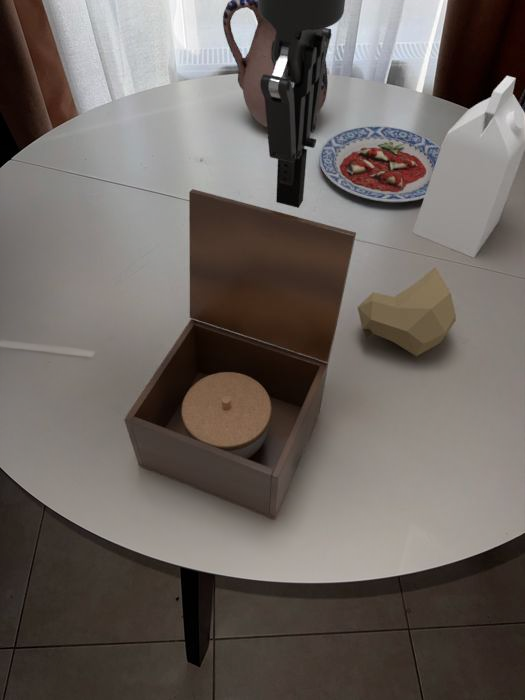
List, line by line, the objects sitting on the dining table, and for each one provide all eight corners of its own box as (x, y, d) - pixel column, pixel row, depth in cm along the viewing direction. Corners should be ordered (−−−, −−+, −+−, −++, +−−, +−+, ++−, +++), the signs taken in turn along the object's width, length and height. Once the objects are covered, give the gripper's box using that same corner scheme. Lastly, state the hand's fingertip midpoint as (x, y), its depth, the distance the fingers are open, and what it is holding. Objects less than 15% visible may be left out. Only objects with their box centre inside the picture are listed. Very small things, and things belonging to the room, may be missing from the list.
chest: (275, 520, 69) (278, 478, 61) (138, 465, 73) (123, 419, 65) (320, 412, 79) (328, 363, 70) (197, 369, 83) (191, 318, 75)
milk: (439, 199, 109) (481, 58, 89) (498, 221, 105) (556, 79, 85) (412, 232, 103) (451, 89, 83) (474, 258, 99) (530, 113, 79)
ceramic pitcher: (334, 136, 123) (350, 8, 104) (238, 150, 119) (235, 19, 100) (309, 97, 134) (318, -27, 114) (219, 108, 130) (214, -18, 111)
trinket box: (178, 473, 72) (170, 433, 64) (195, 402, 78) (190, 358, 71) (264, 483, 71) (266, 444, 64) (274, 410, 78) (276, 368, 71)
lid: (354, 235, 58) (356, 232, 59) (189, 191, 63) (192, 188, 63) (327, 362, 70) (329, 358, 70) (189, 318, 74) (192, 314, 75)
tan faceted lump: (458, 324, 90) (414, 264, 90) (491, 310, 79) (440, 243, 80) (382, 379, 88) (338, 318, 89) (405, 374, 77) (354, 304, 78)
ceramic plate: (411, 228, 104) (415, 215, 102) (293, 177, 113) (294, 164, 111) (470, 163, 117) (474, 150, 115) (359, 123, 127) (361, 109, 124)
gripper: (321, -1, 43) (301, 244, 62) (368, -53, 51) (338, 178, 69) (229, -17, 45) (236, 226, 63) (288, -65, 53) (279, 164, 71)
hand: (289, 201), depth 66 cm, fingers closed
